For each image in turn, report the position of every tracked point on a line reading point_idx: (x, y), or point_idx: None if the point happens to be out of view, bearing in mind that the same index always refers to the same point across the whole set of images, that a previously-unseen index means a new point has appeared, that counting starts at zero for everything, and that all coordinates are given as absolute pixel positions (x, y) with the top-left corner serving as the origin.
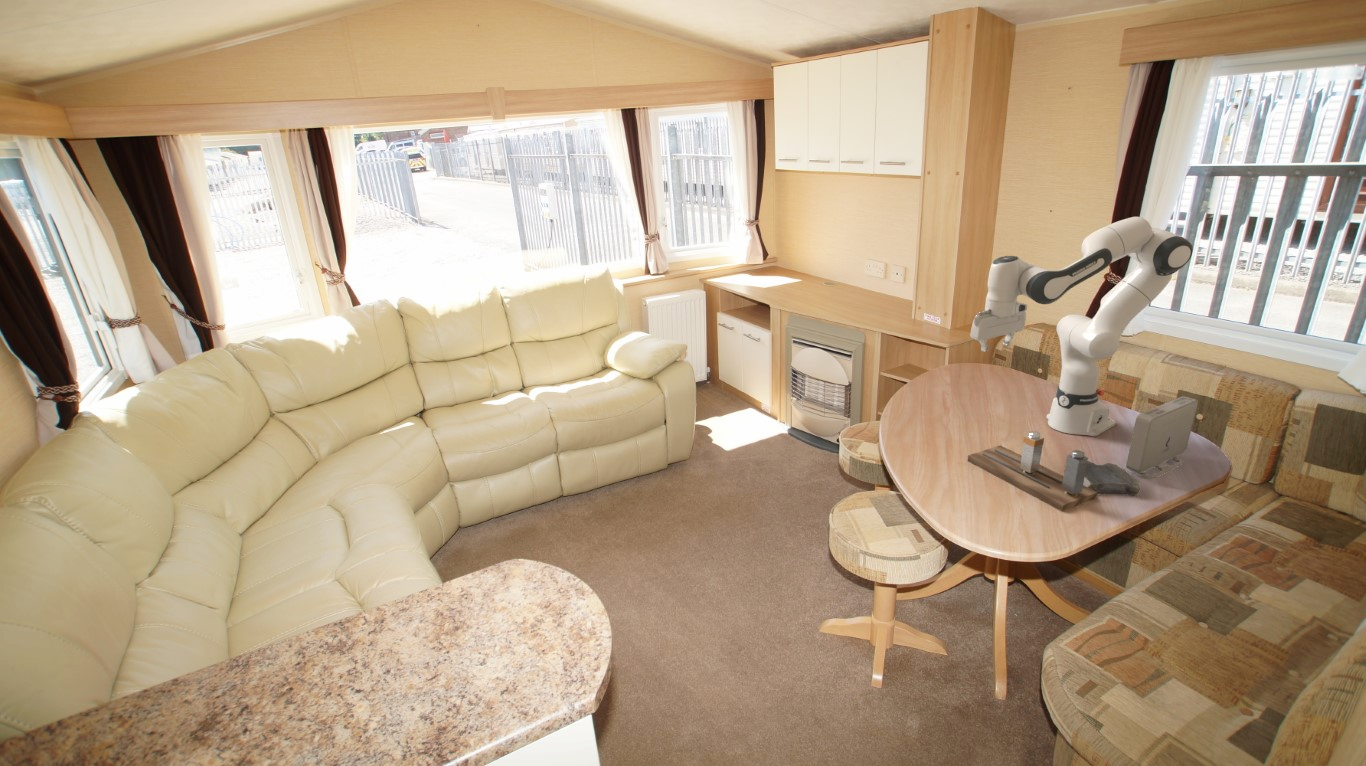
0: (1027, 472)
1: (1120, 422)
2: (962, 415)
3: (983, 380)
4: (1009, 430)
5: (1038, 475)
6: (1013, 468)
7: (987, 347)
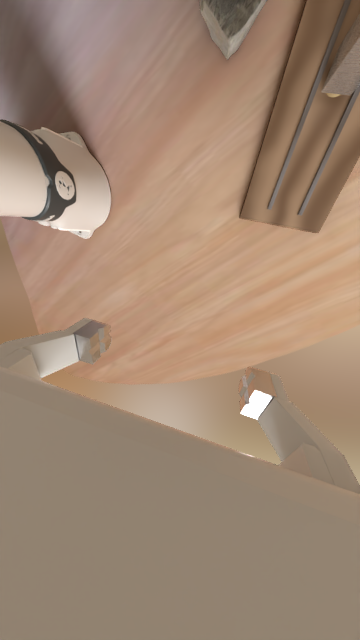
0: None
1: None
2: (168, 318)
3: None
4: (162, 250)
5: None
6: (347, 115)
7: (269, 388)
